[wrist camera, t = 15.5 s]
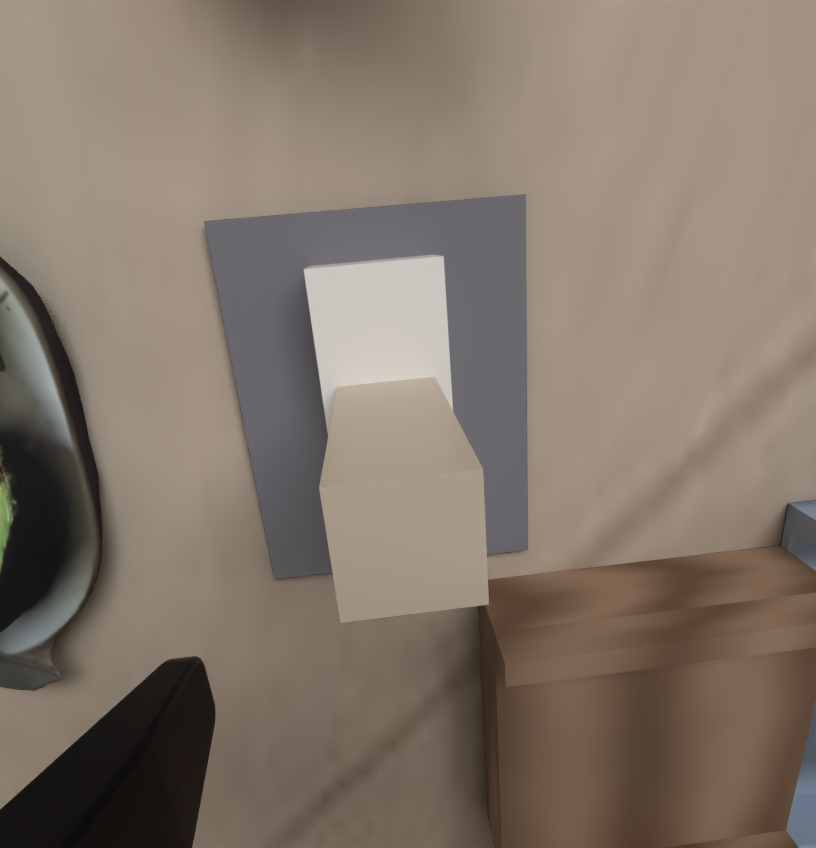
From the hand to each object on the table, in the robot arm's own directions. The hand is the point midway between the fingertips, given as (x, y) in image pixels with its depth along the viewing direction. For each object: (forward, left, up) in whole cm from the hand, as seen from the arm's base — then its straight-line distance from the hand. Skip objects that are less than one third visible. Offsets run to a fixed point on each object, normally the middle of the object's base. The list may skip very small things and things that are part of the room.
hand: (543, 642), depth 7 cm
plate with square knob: (+2, 0, -12) cm, 12 cm away
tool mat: (+2, 0, -13) cm, 13 cm away
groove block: (-8, +15, -13) cm, 21 cm away
